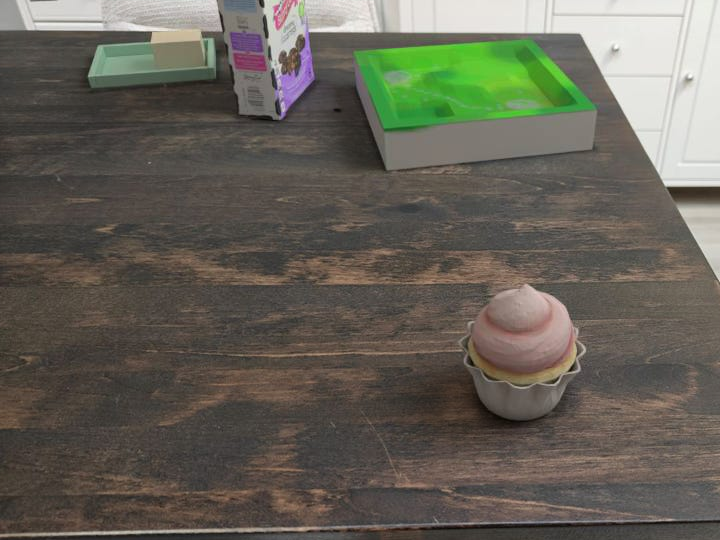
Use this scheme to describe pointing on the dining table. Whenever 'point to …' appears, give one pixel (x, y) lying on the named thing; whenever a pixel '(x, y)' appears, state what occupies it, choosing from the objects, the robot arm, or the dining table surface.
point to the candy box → (267, 54)
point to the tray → (470, 103)
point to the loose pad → (41, 0)
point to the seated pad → (178, 49)
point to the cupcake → (522, 353)
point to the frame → (143, 66)
